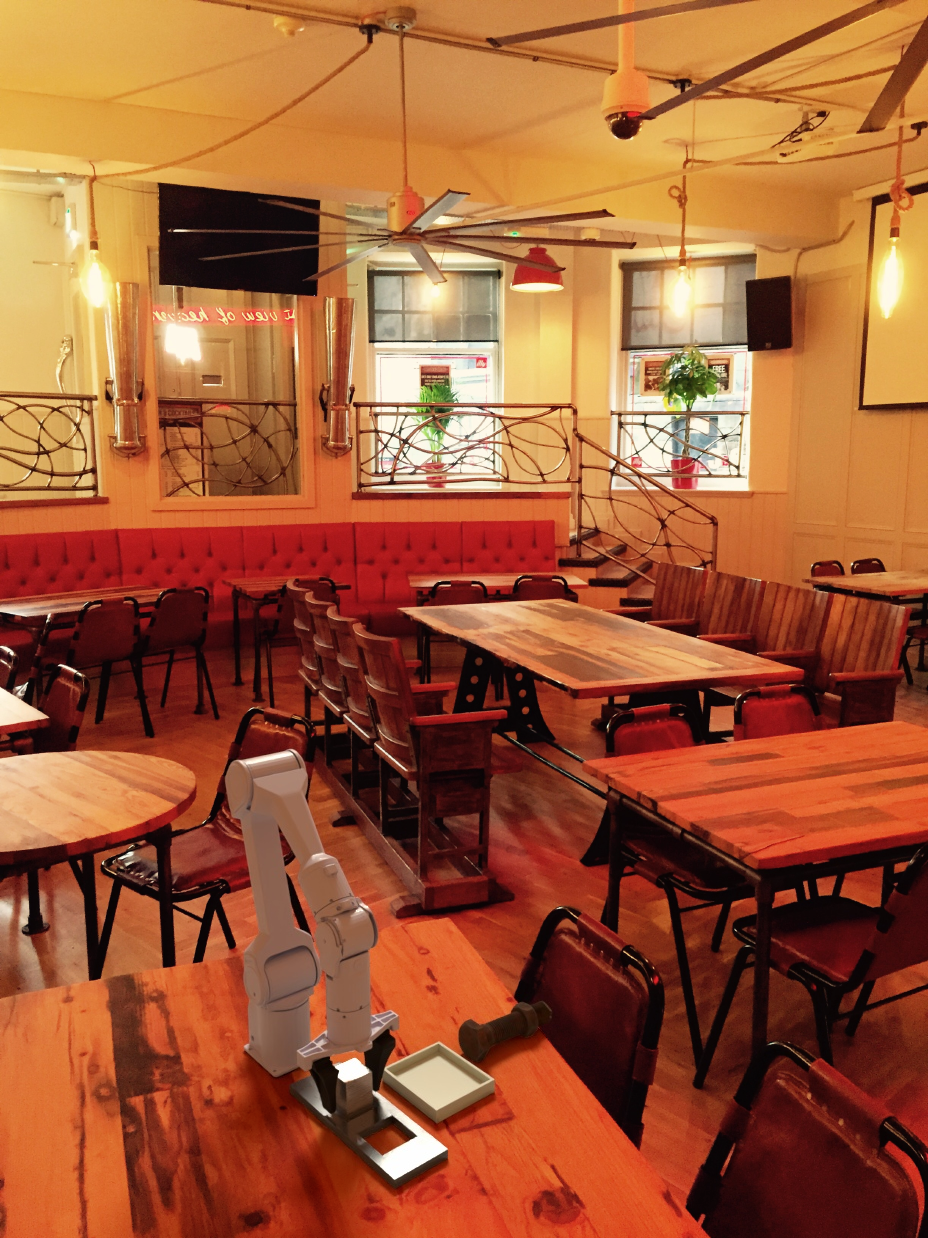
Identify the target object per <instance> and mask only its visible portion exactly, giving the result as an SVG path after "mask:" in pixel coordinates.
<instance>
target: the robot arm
mask: <svg viewBox="0 0 928 1238" xmlns="http://www.w3.org/2000/svg"><path fill="white" fill-rule="evenodd" d="M306 767H307V766H306V764H305V761H304V759H303V757H302V756H301V755H300V754H299V752H298V751H297V750H295V749H293V748H289V749H286V750H284V751H280V752H279V751H278V752H274V753H270V754H266V755H260V756H255V757H250V758H246V759H236V760H233V761H232V762H230V765H229V766H228V769H227V771H226V775H225V776H224V782H225V788H226V790H225V791H226V795H227V801H228V806H229V810H230V816H231V817H232V818H233V819H236V820H237V819H238V820H240V825H241V826H240V827H241V832H242V838H243V844H244V849H245V855H246V857H245V858H246V862H247V867H248V872H249V879H250V885H251V891H252V898H253V902H254V909H255V914H256V922H257V928H258V933H257V935H256V936H255V938H254V939H253V940H252V941H251V942H250V944H249V945H247V947H246V948H245V950H244V951H243V952H242V953H243V973H242V975H243V976H242V978H243V980H242V981H243V986H244V989H245V993H246V995H247V997H248V998H249V1001H248V1005H247V1006H248V1007H247V1016H248V1017H247V1018H248V1019H247V1020H248V1040H249V1041H248V1042H249V1043H246V1044H245V1045H243V1050H244V1051H245V1052H247V1054H248V1055H250V1056H251V1058H252V1059H253V1060H255V1061H256V1062H257V1063H258V1064H259V1065H260V1066H262V1067H263V1069H265V1070H266V1071H267V1072H268V1073H269V1074H270V1075H272V1076H273V1077H274V1078H278V1077H281V1076H283V1075H284V1074H287V1073H289V1072H291V1071H293V1070H296V1069H298V1068H300V1069H301V1070H303V1071H304V1072H307V1071H308V1072H309V1073H310V1075H311V1076H312V1077H313V1079H314V1082H315V1084H316V1086H317V1089H318V1092H319V1095H320V1098H321V1102H322V1106H323V1108H324V1109H325V1110H326V1111H328V1112H329V1113H330V1114H332V1113H334V1112H335V1111H336V1085H337V1079H338V1075H339V1072H340V1070H338V1069H337V1068H336V1067H335V1066H334V1064H333V1060H331V1057H333V1056H337V1055H340V1054H341V1055H342V1054H345V1053H346V1054H347V1053H351V1052H355V1051H356V1052H357V1053H359V1054H360V1053H363V1056H364V1057H363V1058H364V1065H365V1066H366V1067H367V1068H368V1069H370V1070H371V1071H372V1086H373V1091H375V1092H379V1091H380V1088H381V1084H382V1076H383V1073H384V1069H385V1067H386V1066H387V1063H388V1061H389V1058H390V1056H391V1055H392V1052H394V1050H395V1048H396V1047H397V1045H396V1044H397V1043H396V1037H394V1036H393V1035H391V1032H396V1031H398V1030H400V1015H399V1014H397V1013H396V1012H394V1011H393V1010H392V1009H390V1010H389V1009H388V1010H387V1011H385V1012H381V1013H376V1014H372V1000H371V999H372V998H371V996H372V995H371V993H372V992H371V962H370V960H371V959H370V957H371V955H370V951H369V950H371V949H373V948H375V947H376V946H377V944H378V941H379V927H378V924H377V921H376V920H377V919H376V918H375V915H374V913H373V911H372V910H371V908H370V907H369V906H368V905H367V904H365V903H364V902H363V900H362V899H361V897H359V896H357V897H355V895H354V892H353V891H352V888H351V886H350V884H349V881H348V879H347V878H346V875H345V873H344V870H343V868H342V866H341V865H340V863H339V859H338V858H336V857H334V856H332V855H329V854H326V853H325V849H324V846H323V844H322V841H321V838H320V835H319V832H318V829H317V827H316V824H315V821H314V818H313V816H312V813H311V810H310V807H309V804H308V802H307V799H306V794H307V790H308V786H309V784H308V783H309V779H308V778H309V777H308V776H309V775H308V773H307V768H306ZM279 829H280V830H281V832H282V834H283V836H284V838H285V840H286V841H287V843H288V845H289V847H290V850H291V851H292V853H293V855H294V856H295V857H296V859H297V861H298V863H299V864H300V865H299V866H300V867H299V870H298V873H297V877H296V879H297V882H298V884H299V886H300V889H301V891H302V894H303V896H304V898H305V900H306V902H307V904H308V907H309V909H310V911H311V913H312V916H313V918H314V921H315V923H316V927H315V931H314V932H313V936H314V940H313V936H312V935H311V934H310V933H309V932H307V931H305V930H302V929H300V928H298V927H296V926H295V920H294V913H293V908H292V907H293V906H292V902H291V896H290V890H289V884H288V878H287V873H286V867H285V860H284V856H283V855H284V854H283V848H282V844H281V843H282V842H281V837H280V832H279ZM314 942H315V943H314ZM315 946H316V947H315ZM316 948H317V950H318V952H317V950H316ZM322 971H323V972H324V975H325V976H324V980H325V981H324V982H325V1008H326V1010H325V1012H326V1014H325V1015H326V1030H324V1031H323V1032H322V1033H321V1034H319V1035H318V1036H317V1037H315V1038H314V1039H313V1040H312V1037H311V1035H312V1034H311V1033H312V1032H311V1012H310V1011H311V1010H310V1007H311V1006H310V997H312V996H313V995H314V993H315V992H314V991H315V990H314V989H315V988H314V987H317V985H319V984H320V981H321V977H322V973H323V972H322Z"/></svg>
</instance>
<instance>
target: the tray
mask: <svg viewBox="0 0 928 1238" xmlns="http://www.w3.org/2000/svg"><path fill="white" fill-rule="evenodd" d="M381 1082H384V1083H385V1084H386V1085H387V1086H388V1087H390V1088H391V1089H392V1090H394V1091H395V1092H396V1093H397V1094H399V1096H401V1097H402V1098H404V1099H405V1100H406V1101H407V1102H409V1103H410V1104H411V1105H412V1106H414V1107H416V1109H417V1110H419V1111H420V1112H421V1113H423V1114H424V1115H426V1117H428V1118H430V1120H432V1121H433V1122H434V1123H436V1124H438V1123H440V1122H442V1121H444V1120H445V1119H447V1118H450V1117H452V1115H455V1114H457V1113H459V1112H460V1111H462V1110H464V1109H466V1108H468V1107H470V1106H472V1105H473V1104H475V1103H477V1102H478V1101H480V1100H482V1099H484V1098H486V1097H488V1096H490V1095H491V1094H493V1093H495V1092H496V1091H495V1090H496V1087H495V1086H496V1079H495V1078H494V1077H492V1076H491V1075H489V1074H488V1073H486V1072H484V1071H483V1070H482V1069H481V1068H479V1067H477V1066H476V1065H474V1064H473V1063H471V1062H470V1061H468V1060H467V1059H466V1058H464V1057H462V1056H461V1055H459V1054H458V1053H457V1052H455V1051H454V1050H453V1049H452V1048H449V1047H448V1046H446V1045H445V1044H444V1043H442V1042H441V1041H437V1042H435V1043H432V1044H431V1045H429V1046H428V1045H427V1046H426V1047H424V1048H422V1049H419V1050H418V1051H415V1052H414V1053H411V1054H410V1055H407V1056H406V1057H404V1058H401V1059H399V1060H397V1061H395V1062H393V1063H391V1064H388V1065H386V1066H385V1069H384V1073H383V1076H382V1080H381Z"/></svg>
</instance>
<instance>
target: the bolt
mask: <svg viewBox="0 0 928 1238" xmlns="http://www.w3.org/2000/svg"><path fill="white" fill-rule="evenodd" d="M552 1015H553V1011H552V1009H551V1007H550V1006H549V1005H548V1004H547V1003H546V1002H545V1001H543V1000H540V1001H538V1002H535V1003H533V1004H529V1003H526V1002H524V1001H521V1002H518V1003H516V1004H515V1005H513V1007H512V1008H511V1011H510V1013H508V1014H505V1015H503V1016H500V1017H498V1018H497V1017H496V1019H492V1020H490V1021H488V1022H486V1023H481V1024H479V1023H478V1022H477V1021H475V1020H473V1019H472V1018H469V1019H467V1020H465V1021H464V1022H463V1023H462V1024H461V1025H460V1027H459V1029H458V1033H457V1034H458V1037H457V1038H458V1045H459V1047H460V1050H461V1051H462V1053H463V1055H464V1057H465V1058H467V1059H468V1060H470V1061H471V1062H473V1063H480V1062H483V1061H484V1060H485V1059H486V1056H487V1054H488V1053H489V1052H490V1048H492V1047H494V1046H497V1045H498V1044H500V1043H503V1042H506V1041H508V1040H510V1039H512V1038H515V1037H517V1036H520V1037H521V1038H525V1039H529V1038H530V1037H533V1036H534V1035H536V1032H537V1031H538V1030H539V1027H541V1026H543V1025H545V1024H549V1023H550V1022H551V1020H552Z"/></svg>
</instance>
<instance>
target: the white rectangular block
mask: <svg viewBox="0 0 928 1238" xmlns="http://www.w3.org/2000/svg"><path fill="white" fill-rule="evenodd" d="M341 1063H342V1062H341ZM336 1068H337V1069H338V1070H340V1072H339V1075H338V1079H337V1085H336V1111H335V1112H334V1113H335V1114H336V1115H337V1116H338V1117H339V1118H340V1119H342V1120H343V1121H344V1122H345V1123H347V1122H349V1121H351V1120H353V1119H355V1118H357V1117H359V1116H361V1115H363V1114H365V1113H367V1112H368V1111H370V1110H372V1109H374V1108H373V1086H372V1071H371V1070H370V1069H368V1068H367V1067H366V1066H365V1064H363V1063H362V1062H361V1061H360V1060H358V1059H357V1058H356V1057H354V1058H352V1059H349V1060H347V1061H345V1062H343V1063H342V1064H340V1065H338V1066H336Z"/></svg>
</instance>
